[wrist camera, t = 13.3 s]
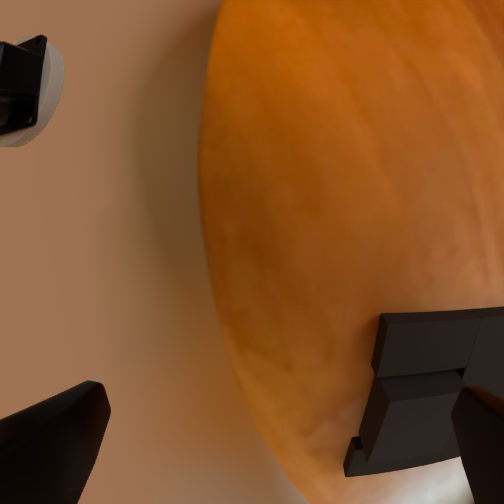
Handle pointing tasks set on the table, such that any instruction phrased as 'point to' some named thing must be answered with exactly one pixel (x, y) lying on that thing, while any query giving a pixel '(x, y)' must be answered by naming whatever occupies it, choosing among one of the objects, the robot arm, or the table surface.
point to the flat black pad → (435, 365)
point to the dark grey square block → (409, 415)
